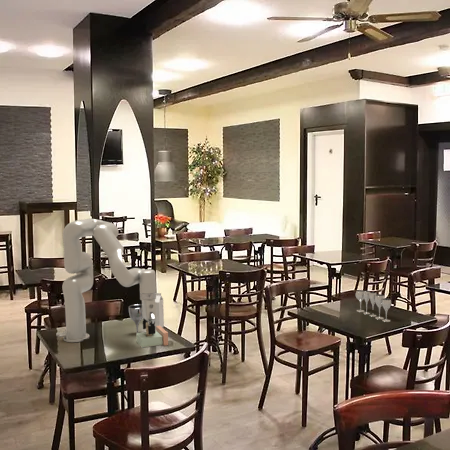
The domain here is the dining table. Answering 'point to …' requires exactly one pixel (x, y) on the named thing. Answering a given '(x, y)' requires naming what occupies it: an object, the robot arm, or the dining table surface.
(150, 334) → the dowel
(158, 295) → the milk carton
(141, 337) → the tissue box
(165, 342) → the orange rectangular block
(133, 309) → the wine glass
